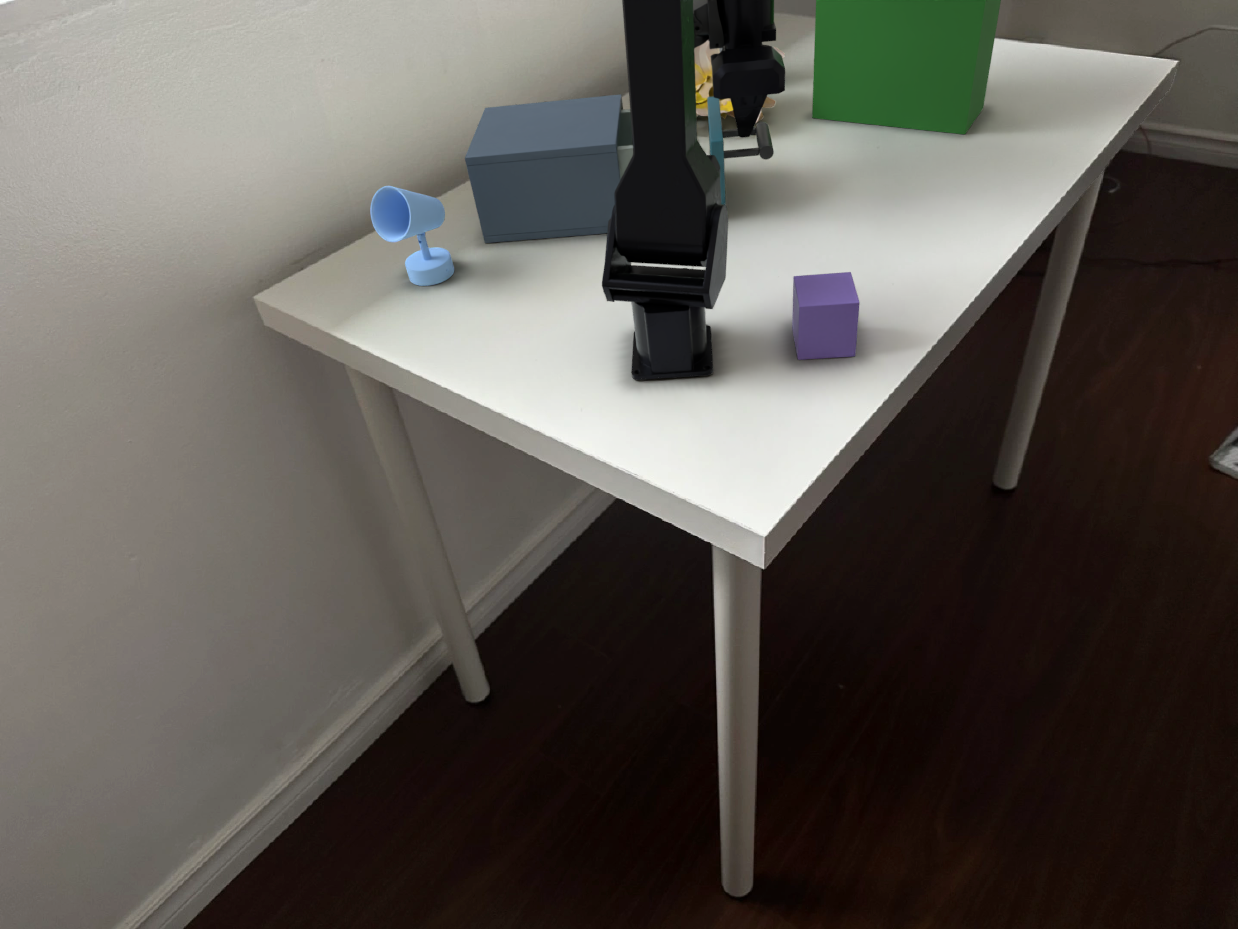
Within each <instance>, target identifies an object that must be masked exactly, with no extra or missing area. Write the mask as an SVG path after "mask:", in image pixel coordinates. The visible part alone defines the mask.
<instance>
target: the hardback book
mask: <svg viewBox="0 0 1238 929" xmlns="http://www.w3.org/2000/svg"><path fill="white" fill-rule="evenodd" d="M1001 2H1002V0H815V17H814V18H815V20H814V22H815V24H814V45H813V46H814V50H813V51H814V52H813V76H812V77H813V78H812V80H813V82H812V105H811V106H812V108H811V109H812V110H811V118H812V119H818V120H828V121H837V122H846V123H855V124H865V125H866V124H867V125H873V126H881V127H882V126H883V127H884V126H885V127H891V128H902V129H911V130H912V129H913V130H920V131H928V132H929V131H930V132H937V133H938V132H939V133H947V134H958V135H966V134H968V133H967V132H968V131H969V130H970V128H971V127H972V125H973V124H974V122H975V121H976V120H977V118H978V117H979V115H980V114H981V112H982V111H983V110H984V107H985V100H986V94H987V88H988V82H989V75H990V70H991V63H992V56H993V51H994V45H995V40H996V33H997V27H998V21H999V15H1000V9H1001Z"/></svg>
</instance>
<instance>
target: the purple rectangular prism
mask: <svg viewBox="0 0 1238 929" xmlns="http://www.w3.org/2000/svg"><path fill="white" fill-rule="evenodd" d="M792 278H793V279H792V280H793V281H792V286H793V287H792V316H791V317H792V320H791V321H792V322H791V329H792V335H793V340H794V346H795V352H796V358H797V360H798V361H802V360H803V361H804V360H818V359H819V360H820V359H833V358H850V357H851V358H852V357H855V356H856V354H857V353H856V352H857V342H858V329H859V319H860V318H859V316H860V305H861V304H860V303H861V302H860V298H859V295H858V292H857V291H858V290H857V289H856V284H855V281H854V277H853V274H852V272H851V271H845V272H844V271H843V272H832V273H817V274H816V273H815V274H803V275H794V276H793V277H792Z"/></svg>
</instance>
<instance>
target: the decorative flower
mask: <svg viewBox="0 0 1238 929" xmlns="http://www.w3.org/2000/svg"><path fill="white" fill-rule="evenodd" d="M772 47H773V48H774V49H775V50H776V51H777V52H778V53H779V54H780V55H782V59H783V60H784V58H785V56H786V54H785V52H784V51H783V50H781V49H779V48H778V47H777V46H772ZM694 52H695V86H696V118H697V117H698V116H701V117H708V103H707V97H712V96H713V84H712V65H711V55H713V54H717V53H720V52H719V48H717V49H710V47H709V41H706V42H705V43H704V44H702V45H700V46H698V47H696V48H694ZM719 102H720V112H721V118H722V119H724V120H726V118H727V116H729V117H732V118H734V119H735V117H734V112H733V108H732V103H731V99H730V98H728V99H719ZM776 103H777V102H776V100H775V99H773V98H771V97H769V96H767V98H766V100H765V102H764V104H763V107H762V109H763V108H764V109H771V108H774V107H775V106H776ZM763 119H764V114H763V112H762V110H761V111H760V114H759V116H758V119H757V121H756V123H755V124H758V123H760V122H761V120H763Z"/></svg>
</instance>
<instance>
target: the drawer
mask: <svg viewBox="0 0 1238 929" xmlns="http://www.w3.org/2000/svg"><path fill="white" fill-rule="evenodd" d="M707 103H708V116H707V121H708V123H707V124H708V141H709V142H708V143H709V144H708V145H709V155H715V156H716V158H717V160H718V162H719V165H720V188H721V205H726V204H727V203H726V178H725V177H726V176H725V159H735V158H736V159H737V158H744V157H745V158H747V157H756V156H757V157H760V159H762V160H765V161H766V160H769V159H771V158H772V157H773V156H774V154H775V150H774V145H773V140H772V135H771V131H770V125H769V124H768V123H767V122H766V121H759V122H758V123H756V124H755V126H754V128H753V131H752V133H751V135H750V136H755V137H756V144H757V147H750V148H738V149H728V150H727V149H726V150H725V146H724V144H725V143H724V139H725V138H735V137H739V134H738V130H737V128H733V129H732V128H730V129H723V122H722V117H721V112H720V102H719V99H717V98H714V96H712V97H707ZM617 152H618V161H619V169H620V178H622V176H623V174H624V172H625V170H626V168H627V166H628V164H629V162H630V160H631V158H632V156H633V142H632V128H631V114H630V108H625V109H623V110H621V117H620V126H619V135H618V144H617ZM726 206H727V205H726Z"/></svg>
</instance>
